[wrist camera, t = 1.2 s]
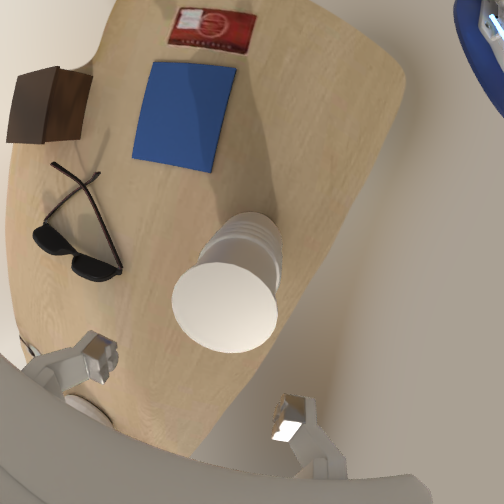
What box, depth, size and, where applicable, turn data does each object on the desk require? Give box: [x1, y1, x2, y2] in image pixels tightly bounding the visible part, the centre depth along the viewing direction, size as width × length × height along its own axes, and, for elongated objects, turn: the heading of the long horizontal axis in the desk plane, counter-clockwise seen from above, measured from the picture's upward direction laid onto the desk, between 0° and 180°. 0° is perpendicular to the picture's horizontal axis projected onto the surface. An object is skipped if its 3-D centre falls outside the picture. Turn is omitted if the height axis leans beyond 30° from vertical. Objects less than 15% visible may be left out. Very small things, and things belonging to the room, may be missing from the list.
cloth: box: [132, 62, 237, 173], centre depth 26 cm, size 12×10×1 cm
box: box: [6, 66, 93, 144], centre depth 23 cm, size 9×9×8 cm
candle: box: [172, 212, 283, 353], centre depth 23 cm, size 7×7×15 cm
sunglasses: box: [33, 162, 123, 282], centre depth 29 cm, size 17×14×5 cm
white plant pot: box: [64, 395, 114, 429], centre depth 49 cm, size 21×17×10 cm
